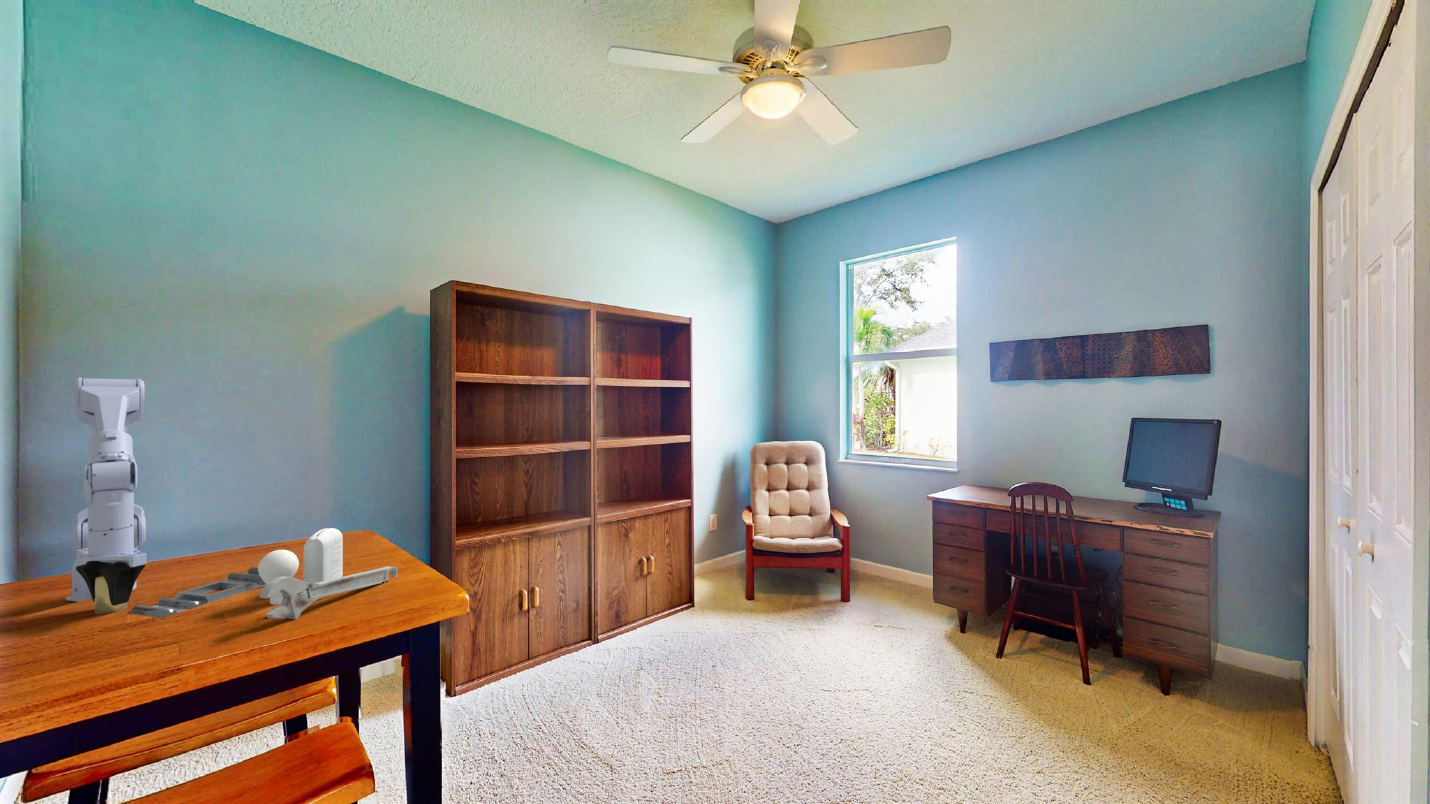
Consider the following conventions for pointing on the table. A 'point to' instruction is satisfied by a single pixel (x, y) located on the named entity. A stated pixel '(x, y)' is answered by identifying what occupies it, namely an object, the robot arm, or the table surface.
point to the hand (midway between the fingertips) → (111, 602)
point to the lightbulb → (278, 569)
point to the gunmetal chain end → (224, 587)
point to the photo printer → (323, 556)
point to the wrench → (317, 590)
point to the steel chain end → (167, 607)
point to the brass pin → (104, 598)
